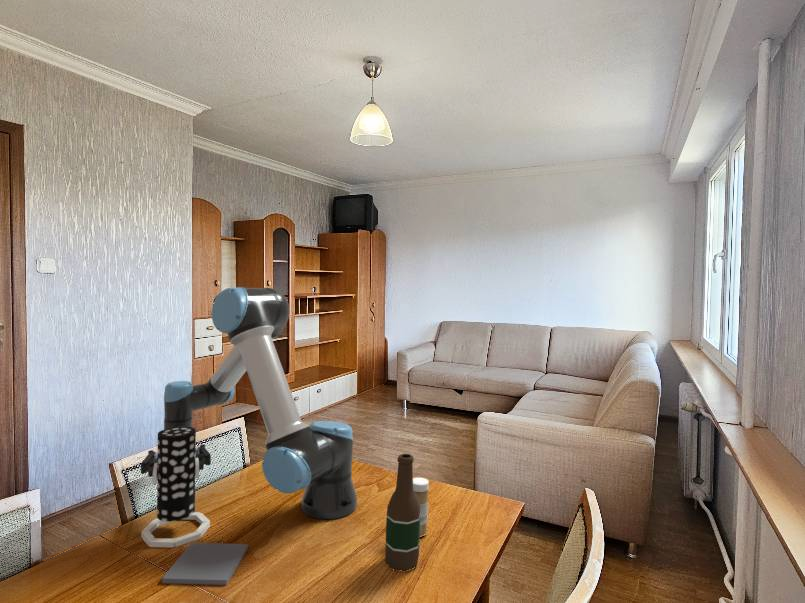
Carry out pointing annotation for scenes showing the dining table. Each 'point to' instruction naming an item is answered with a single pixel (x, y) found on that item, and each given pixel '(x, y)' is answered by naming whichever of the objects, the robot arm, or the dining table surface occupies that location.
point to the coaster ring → (176, 542)
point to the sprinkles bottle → (422, 501)
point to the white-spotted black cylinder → (176, 473)
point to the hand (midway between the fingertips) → (176, 475)
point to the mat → (206, 564)
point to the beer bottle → (403, 520)
